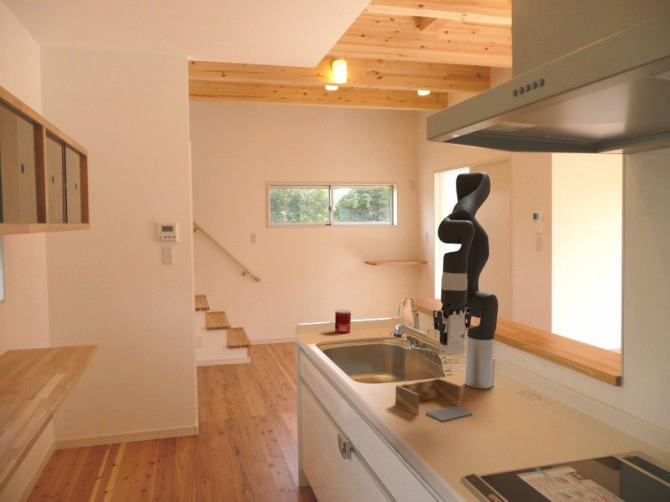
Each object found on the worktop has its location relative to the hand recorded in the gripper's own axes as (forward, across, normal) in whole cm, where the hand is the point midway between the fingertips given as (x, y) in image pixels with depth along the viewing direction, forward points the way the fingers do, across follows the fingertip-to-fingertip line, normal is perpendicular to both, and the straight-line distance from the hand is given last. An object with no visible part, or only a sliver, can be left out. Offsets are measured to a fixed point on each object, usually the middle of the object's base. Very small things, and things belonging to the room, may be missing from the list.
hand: (451, 343), depth 159 cm
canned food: (+22, -33, -111) cm, 118 cm away
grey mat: (+22, 0, 0) cm, 22 cm away
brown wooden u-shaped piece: (+22, 0, -9) cm, 24 cm away
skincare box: (+3, 0, 0) cm, 3 cm away
